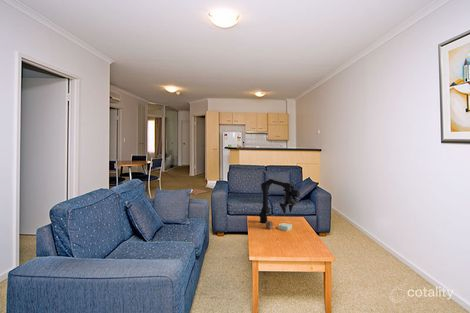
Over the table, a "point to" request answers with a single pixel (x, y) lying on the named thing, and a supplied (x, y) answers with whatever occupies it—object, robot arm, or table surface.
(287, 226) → the sage base block
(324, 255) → the table surface
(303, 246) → the table surface
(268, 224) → the walnut block
